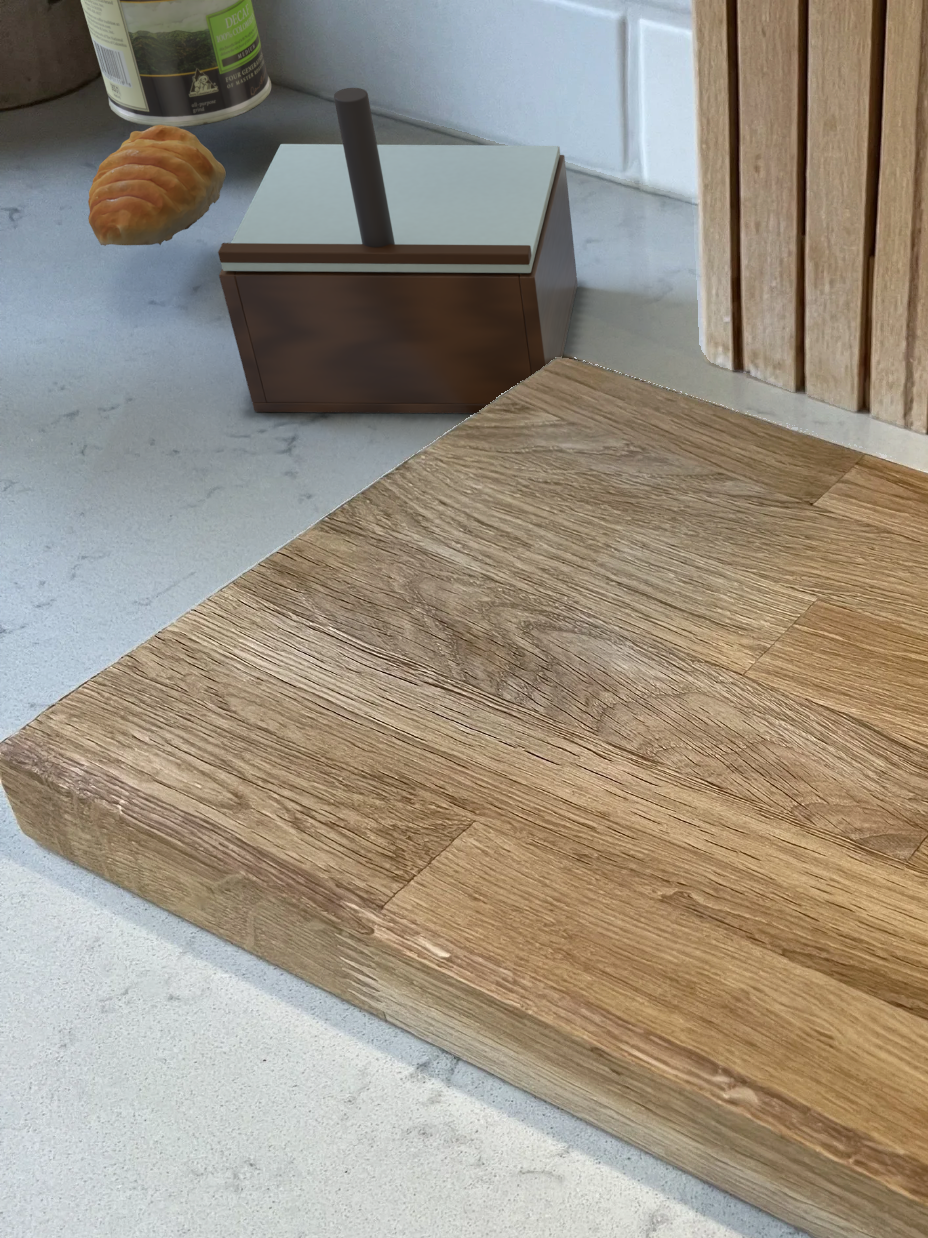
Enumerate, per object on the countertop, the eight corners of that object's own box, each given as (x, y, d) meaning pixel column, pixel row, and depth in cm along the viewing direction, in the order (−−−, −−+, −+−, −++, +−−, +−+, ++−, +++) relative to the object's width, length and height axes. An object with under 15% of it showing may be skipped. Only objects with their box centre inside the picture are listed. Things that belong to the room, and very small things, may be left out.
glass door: (222, 272, 88) (179, 105, 82) (282, 152, 98) (247, -6, 92) (530, 274, 88) (510, 107, 82) (560, 154, 98) (544, -4, 92)
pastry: (182, 260, 98) (164, 195, 95) (65, 255, 98) (44, 190, 96) (235, 184, 105) (219, 121, 102) (125, 180, 105) (107, 117, 102)
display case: (254, 412, 94) (218, 275, 88) (309, 283, 104) (279, 152, 98) (551, 414, 94) (534, 277, 88) (577, 285, 104) (564, 154, 98)
